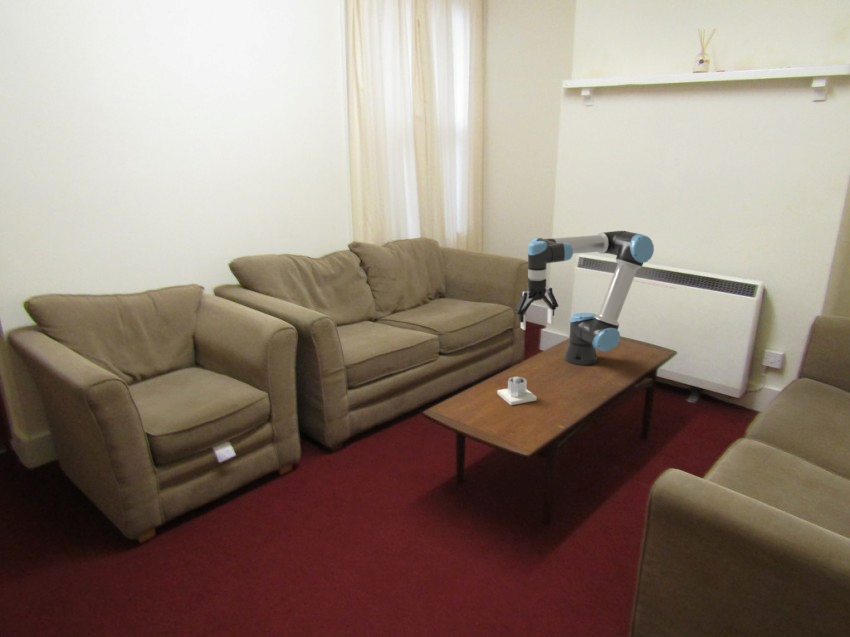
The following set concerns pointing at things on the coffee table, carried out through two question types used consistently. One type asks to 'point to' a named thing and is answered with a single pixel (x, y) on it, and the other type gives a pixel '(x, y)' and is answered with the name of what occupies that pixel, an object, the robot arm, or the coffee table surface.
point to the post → (515, 400)
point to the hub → (517, 388)
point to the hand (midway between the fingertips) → (536, 326)
